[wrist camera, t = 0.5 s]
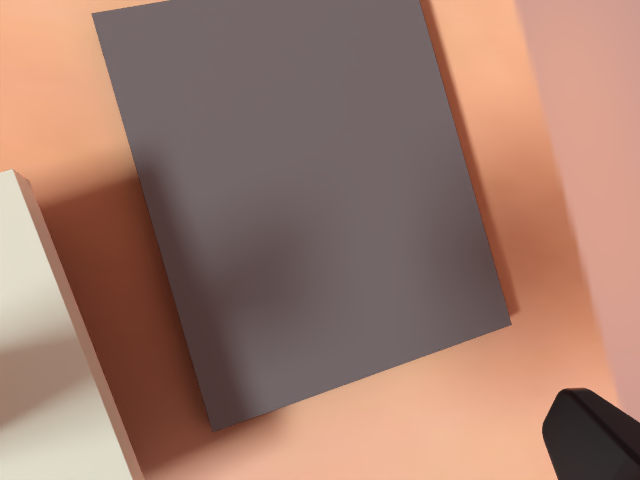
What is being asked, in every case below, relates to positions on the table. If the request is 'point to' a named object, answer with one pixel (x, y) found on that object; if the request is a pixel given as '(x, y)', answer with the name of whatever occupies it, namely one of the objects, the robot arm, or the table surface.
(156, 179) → the mat
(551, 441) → the robot arm
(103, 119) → the table surface
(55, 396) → the lid
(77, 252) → the table surface
